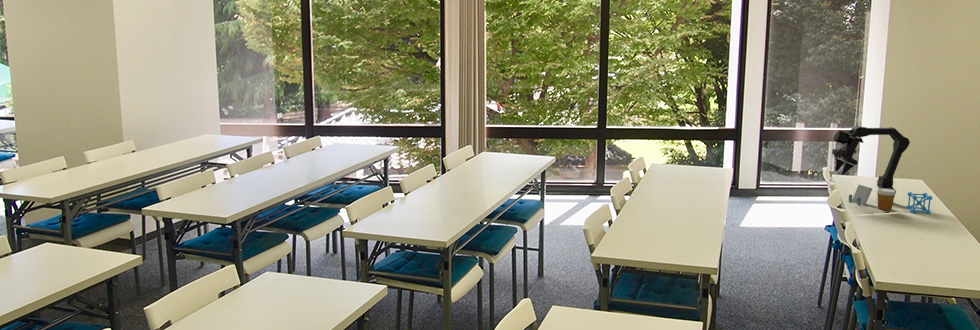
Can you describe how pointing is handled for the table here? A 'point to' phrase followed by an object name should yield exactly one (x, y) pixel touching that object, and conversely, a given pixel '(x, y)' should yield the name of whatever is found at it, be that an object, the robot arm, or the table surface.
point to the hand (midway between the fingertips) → (839, 172)
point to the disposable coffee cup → (885, 199)
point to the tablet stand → (857, 200)
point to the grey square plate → (862, 194)
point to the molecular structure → (919, 202)
